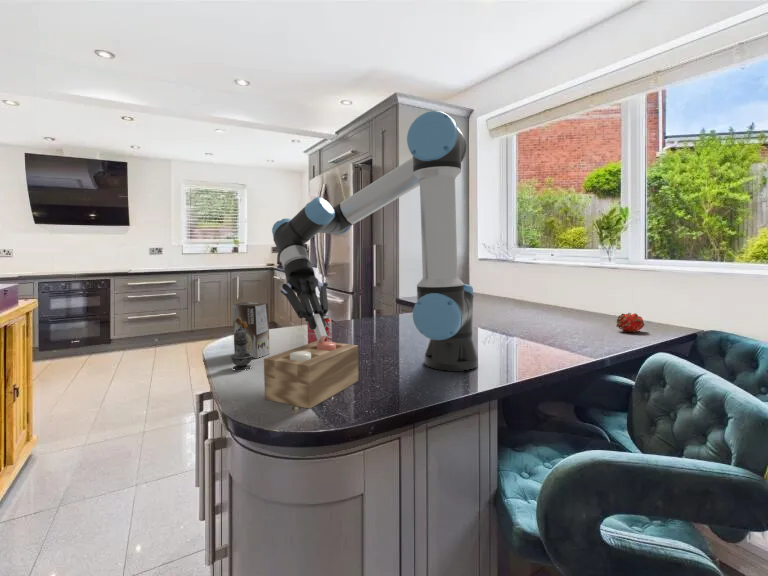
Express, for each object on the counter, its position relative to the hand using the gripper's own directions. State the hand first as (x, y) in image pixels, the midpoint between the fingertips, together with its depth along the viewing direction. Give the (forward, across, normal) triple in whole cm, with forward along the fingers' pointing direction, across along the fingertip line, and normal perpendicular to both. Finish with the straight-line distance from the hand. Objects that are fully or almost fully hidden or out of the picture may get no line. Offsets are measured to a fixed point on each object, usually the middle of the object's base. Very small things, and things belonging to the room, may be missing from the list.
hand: (322, 338), depth 100 cm
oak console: (+11, +4, -4) cm, 12 cm away
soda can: (-5, -8, -21) cm, 23 cm away
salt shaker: (-7, +14, -24) cm, 29 cm away
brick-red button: (+5, 0, -2) cm, 6 cm away
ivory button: (+9, +8, +1) cm, 12 cm away
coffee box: (-16, +7, -34) cm, 38 cm away
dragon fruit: (+14, -129, +1) cm, 130 cm away
